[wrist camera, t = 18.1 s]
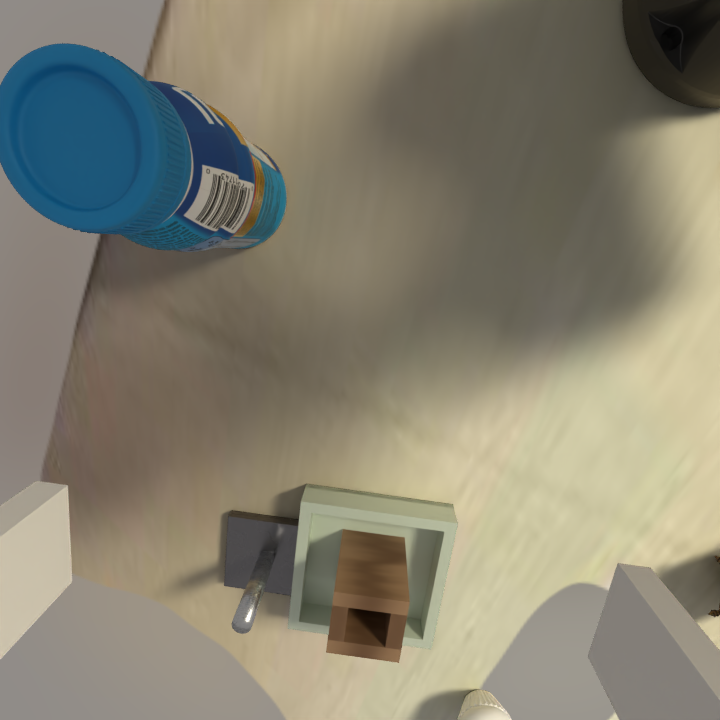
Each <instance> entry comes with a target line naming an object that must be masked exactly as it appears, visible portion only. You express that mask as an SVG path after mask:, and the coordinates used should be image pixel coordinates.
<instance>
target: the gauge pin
mask: <svg viewBox="0 0 720 720" xmlns="http://www.w3.org/2000/svg"><path fill="white" fill-rule="evenodd" d="M298 525H299V520H297V519H290V518H283V517H275V516H268V515H261V514H254V513H247V512H240V511H233V510H232V511H231V513H230V514H229V516H228V531H227V548H226V565H225V582H224V586H229V587H235V588H242V589H245V591H244V594H243V596H242V599H241V601H240V604H239V606H238V609H237V611H236V614H235V616H234V619H233V621H232V628H233V629H234V630H235V631H236V632H238V633H247V632H249V631H250V630H251V627H252V624H253V621H254V618H255V615H256V612H257V610H258V607H259V604H260V601H261V598H262V595H263V592H270V593H277V594H284V595H291V591H292V582H293V572H294V563H295V553H296V544H297V534H298Z"/></svg>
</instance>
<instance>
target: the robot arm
mask: <svg viewBox="0 0 720 720" xmlns="http://www.w3.org/2000/svg"><path fill="white" fill-rule="evenodd" d="M623 20H624V28H625V33H626V38H627V41H628V45H629V48H630V50H631V53H632V55H633V57H634V60H635V61H636V63H637V65H638V67H639V68H640V70H641V71H642V73H643V74H644V75H645V76H646V78H647V79H648V80H649V81H650V82H651V83H652V84H653V85H654V86H655V87H656V88H657V89H659V90H660V91H661V92H663V93H664V94H666V95H667V96H669V97H671V98H673V99H675V100H677V101H679V102H682V103H685V104H689V105H693V106H698V107H707V108H718V107H720V0H623ZM71 582H72V566H71V544H70V522H69V499H68V485H62V484H55V483H48V482H41V481H35V482H34V483H33V484H31V485H30V486H28V487H27V488H25V489H24V490H23V491H21V492H20V493H18V494H16V495H15V496H14V497H12V498H11V499H9V500H7V501H6V502H5V503H3V504H2V505H0V659H1V658H2V657H3V656H4V655H5V654H6V653H7V652H8V651H9V649H10V648H11V647H12V646H13V645H14V644H15V643H16V642H17V641H18V640H19V639H20V638H21V636H22V635H23V634H24V633H25V632H26V631H27V630H28V629H29V628H30V627H31V625H32V624H33V623H34V622H35V621H36V620H37V619H38V618H39V617H40V616H41V615H42V614H43V613H44V612H45V610H46V609H47V608H48V607H49V606H50V605H51V604H52V603H53V602H54V600H55V599H56V598H57V597H58V596H59V595H60V594H61V593H62V592H63V591H64V590H65V589H66V588H67V587H68V585H69V584H70V583H71ZM588 658H589V660H590V662H591V664H592V666H593V668H594V670H595V672H596V674H597V676H598V678H599V680H600V682H601V684H602V686H603V687H604V690H605V692H606V694H607V696H608V698H609V700H610V702H611V704H612V706H613V708H614V710H615V712H616V714H617V716H618V718H619V720H720V650H719V649H718V648H717V647H716V646H715V644H714V643H713V642H712V641H711V640H710V638H709V637H708V636H707V635H706V634H705V632H704V631H703V630H702V629H701V628H700V626H699V625H698V624H697V623H696V622H695V620H694V619H693V618H692V617H691V616H690V614H689V613H688V612H687V611H686V610H685V608H684V607H683V606H682V605H681V604H680V602H679V601H678V600H677V599H676V598H675V596H674V595H673V594H672V593H671V592H670V590H669V589H668V588H667V587H666V586H665V584H664V583H663V582H662V581H661V580H660V578H659V577H658V576H657V575H656V574H655V572H654V571H653V570H652V569H651V568H649V567H642V566H635V565H628V564H621V563H618V564H617V567H616V570H615V573H614V576H613V580H612V583H611V586H610V589H609V592H608V595H607V598H606V601H605V605H604V607H603V611H602V614H601V617H600V620H599V623H598V626H597V629H596V632H595V635H594V638H593V642H592V644H591V648H590V651H589V654H588Z"/></svg>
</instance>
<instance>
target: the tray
mask: <svg viewBox="0 0 720 720" xmlns="http://www.w3.org/2000/svg"><path fill="white" fill-rule="evenodd" d="M457 525H458V522H457V519H456V515H455V511H454V507H453V504H446V503H439V502H432V501H425V500H418V499H411V498H404V497H396V496H389V495H382V494H375V493H368V492H361V491H354V490H347V489H339V488H332V487H325V486H318V485H311V484H306V487H305V490H304V493H303V497H302V500H301V506H300V515H299V525H298V534H297V544H296V553H295V563H294V572H293V582H292V591H291V601H290V610H289V620H288V629H293V630H300V631H307V632H314V633H321V634H327V635H329V627H330V619H331V611H332V603H333V595H334V588H335V580H336V573H337V566H338V559H339V552H340V545H341V538H342V530H343V529H346V530H354V531H361V532H368V533H376V534H383V535H390V536H398V537H405V547H406V560H407V573H408V586H409V599H410V604H409V609H408V615H407V620H406V626H405V632H404V637H403V643H402V645H403V646H410V647H417V648H424V649H432V644H433V640H434V635H435V630H436V625H437V620H438V616H439V611H440V606H441V601H442V597H443V592H444V587H445V582H446V578H447V573H448V568H449V563H450V559H451V554H452V549H453V544H454V540H455V535H456V530H457Z"/></svg>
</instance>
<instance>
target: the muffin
mask: <svg viewBox="0 0 720 720" xmlns="http://www.w3.org/2000/svg"><path fill="white" fill-rule="evenodd" d="M457 720H512V719H511V718H510V715H509V714H508V713H507V711H506V710H505V709H504V708H503V707H502V705H501V704H500V703H499V702H498V701H497V700H496V699H495V697H494V696H493V695H492V694H491V693H489V692H487V691H484V690H474V691H471V692H470V693H469V694H467V695H466V697H465V699H464V702H463V705H462V707H461V710H460V713H459V716H458V719H457Z"/></svg>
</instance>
